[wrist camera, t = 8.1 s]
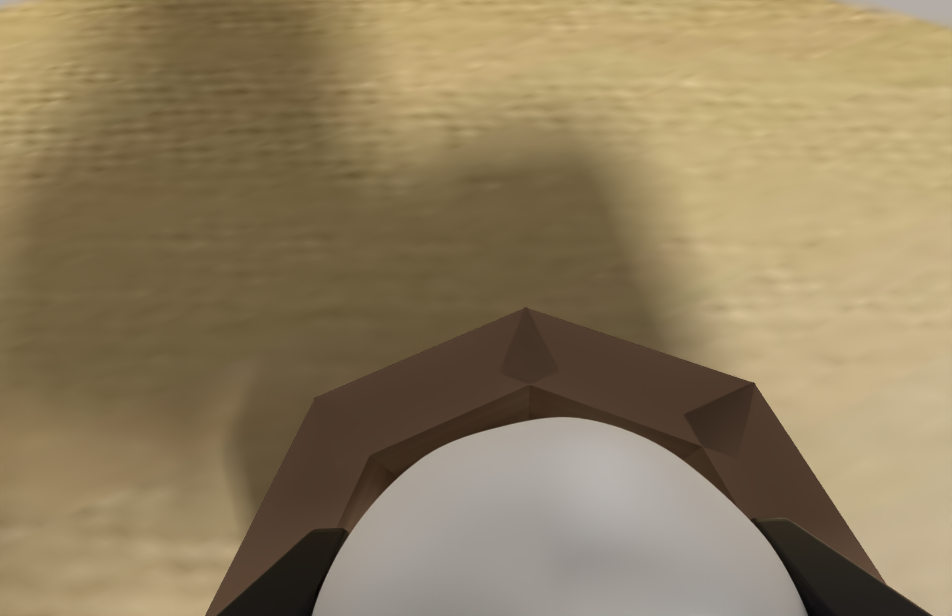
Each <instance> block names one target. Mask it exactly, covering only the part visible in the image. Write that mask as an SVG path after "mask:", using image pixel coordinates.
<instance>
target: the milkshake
mask: <svg viewBox="0 0 952 616" xmlns="http://www.w3.org/2000/svg"><path fill="white" fill-rule="evenodd" d="M312 616H808V614H807V611H806V609H805V607H804V604H803V602H802V600H801V598H800V595H799V593H798V591H797V589H796V587H795V585H794V583H793V581H792V579H791V577H790V576H789V574H788V572H787V570H786V568H785V567H784V565H783V563H782V561H781V560H780V558H779V557H778V555H777V554H776V552H775V551H774V549H773V548H772V546H771V545H770V543H769V542H768V541H767V539H766V538H765V537H764V536H763V534H762V533H761V532H760V531H759V530H758V528H757V527H756V526H755V525H754V524H753V523H752V522H751V521H750V520H749V519H748V518H747V517H746V516H745V515H744V514H743V513H742V512H741V511H740V510H739V509H738V508H737V507H736V506H735V505H734V504H733V503H732V502H731V501H730V500H729V499H728V498H727V497H726V496H725V495H724V494H723V493H721V492H720V491H719V490H718V489H717V488H716V487H715V486H714V485H713V484H711V483H710V482H709V481H708V480H707V479H706V478H704V477H703V476H702V475H701V474H700V473H698V472H697V471H696V470H695V469H693V468H692V467H691V466H690V465H688V464H687V463H686V462H684V461H683V460H682V459H680V458H679V457H677V456H676V455H675V454H673V453H671V452H670V451H668V450H667V449H665V448H663V447H661V446H660V445H658V444H656V443H654V442H652V441H650V440H648V439H646V438H644V437H642V436H640V435H637V434H635V433H632V432H630V431H627V430H624V429H622V428H619V427H616V426H612V425H609V424H605V423H601V422H597V421H593V420H588V419H581V418H571V417H554V418H543V419H536V420H530V421H524V422H519V423H515V424H510V425H506V426H502V427H498V428H494V429H490V430H486V431H483V432H479V433H476V434H472V435H469V436H466V437H463V438H461V439H458V440H455V441H453V442H450V443H448V444H446V445H444V446H442V447H440V448H438V449H436V450H434V451H433V452H431V453H429V454H428V455H426V456H425V457H423V458H422V459H420V460H419V461H418V462H416V463H415V464H414V465H412V466H411V467H410V468H409V469H408V470H406V471H405V472H404V473H403V474H402V475H401V476H400V477H398V478H397V479H396V480H395V481H394V482H393V483H392V484H391V485H390V486H389V487H388V488H387V489H386V490H385V491H384V492H383V493H382V494H381V495H380V496H379V497H378V499H377V500H376V501H375V502H374V503H373V504H372V505H371V507H370V508H369V509H368V510H367V512H366V513H365V514H364V515H363V517H362V518H361V519H360V521H359V522H358V523H357V525H356V526H355V527H354V529H353V530H352V532H351V533H350V535H349V536H348V538H347V539H346V541H345V543H344V544H343V546H342V547H341V549H340V551H339V553H338V554H337V556H336V558H335V560H334V562H333V564H332V566H331V568H330V570H329V572H328V574H327V576H326V578H325V581H324V583H323V585H322V588H321V590H320V593H319V595H318V598H317V601H316V604H315V607H314V610H313V613H312Z"/></svg>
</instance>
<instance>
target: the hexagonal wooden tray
mask: <svg viewBox="0 0 952 616" xmlns="http://www.w3.org/2000/svg"><path fill="white" fill-rule="evenodd" d="M554 417H571V418H581V419H588V420H593V421H597V422H601V423H605V424H609V425H612V426H616V427H619V428H622V429H624V430H627V431H630V432H632V433H635V434H637V435H640V436H642V437H644V438H646V439H648V440H650V441H652V442H654V443H656V444H658V445H660V446H661V447H663V448H665V449H667V450H668V451H670V452H671V453H673V454H675V455H676V456H677V457H679V458H680V459H682V460H683V461H684V462H686V463H687V464H688V465H690V466H691V467H692V468H693V469H695V470H696V471H697V472H698V473H700V474H701V475H702V476H703V477H704V478H706V479H707V480H708V481H709V482H710V483H711V484H713V485H714V486H715V487H716V488H717V489H718V490H719V491H720V492H721V493H723V494H724V495H725V496H726V497H727V498H728V499H729V500H730V501H731V502H732V503H733V504H734V505H735V506H736V507H737V508H738V509H739V510H740V511H741V512H742V513H743V514H744V515H745V516H746V517H747V518H748V519H749V520H750V519H752V518H773V517H781V518H786V519H789V520H791V521H792V522H794V523H796V524H797V525H798V526H800V527H801V528H803V529H804V530H806V531H807V532H809V533H810V534H812V535H813V536H815V537H816V538H818V539H819V540H821V541H822V542H824V543H825V544H827V545H828V546H830V547H831V548H833V549H834V550H836V551H837V552H839V553H840V554H842V555H843V556H845V557H846V558H848V559H849V560H851V561H852V562H854V563H855V564H857V565H858V566H860V567H861V568H862V569H864V570H865V571H867V572H868V573H870V574H871V575H873V576H874V577H876V578H877V579H879V580H880V581H882V582H883V583H885V581H884V580H883V578H882V577H881V575H880V574H879V572H878V571H877V569H876V568H875V566H874V565H873V563H872V562H871V560H870V558H869V557H868V555H867V554H866V552H865V551H864V549H863V548H862V546H861V545H860V543H859V542H858V540H857V539H856V537H855V536H854V534H853V533H852V531H851V530H850V528H849V527H848V525H847V523H846V522H845V520H844V519H843V517H842V516H841V514H840V513H839V511H838V510H837V508H836V507H835V505H834V504H833V502H832V501H831V499H830V498H829V496H828V495H827V493H826V492H825V490H824V489H823V487H822V485H821V484H820V482H819V481H818V479H817V478H816V476H815V475H814V473H813V472H812V470H811V469H810V467H809V466H808V464H807V463H806V461H805V460H804V458H803V457H802V455H801V454H800V452H799V450H798V449H797V447H796V446H795V444H794V443H793V441H792V440H791V438H790V437H789V435H788V434H787V432H786V431H785V429H784V428H783V426H782V425H781V423H780V422H779V420H778V419H777V417H776V415H775V414H774V412H773V411H772V409H771V408H770V406H769V405H768V403H767V402H766V400H765V399H764V397H763V396H762V394H761V393H760V391H759V390H758V388H757V387H756V385H755V383H754V382H753V383H752V382H749V381H746V380H743V379H740V378H737V377H734V376H731V375H728V374H725V373H722V372H719V371H716V370H713V369H710V368H707V367H704V366H701V365H698V364H695V363H692V362H689V361H686V360H683V359H679V358H676V357H673V356H670V355H667V354H664V353H661V352H658V351H655V350H652V349H649V348H646V347H643V346H640V345H637V344H634V343H631V342H628V341H625V340H622V339H619V338H616V337H613V336H610V335H607V334H604V333H601V332H598V331H595V330H591V329H588V328H585V327H582V326H579V325H576V324H573V323H570V322H567V321H564V320H561V319H558V318H555V317H552V316H549V315H546V314H543V313H540V312H537V311H534V310H531V309H528V308H527V307H526V308H524V309H522V310H519V311H517V312H515V313H512V314H510V315H508V316H505V317H503V318H501V319H498V320H496V321H494V322H491V323H489V324H487V325H484V326H482V327H480V328H477V329H475V330H473V331H470V332H468V333H466V334H463V335H461V336H459V337H456V338H454V339H452V340H449V341H447V342H445V343H442V344H440V345H438V346H435V347H433V348H431V349H428V350H426V351H424V352H421V353H419V354H417V355H414V356H412V357H410V358H407V359H405V360H403V361H400V362H398V363H396V364H393V365H391V366H389V367H386V368H384V369H382V370H379V371H377V372H374V373H372V374H370V375H367V376H365V377H363V378H360V379H358V380H356V381H353V382H351V383H349V384H346V385H344V386H342V387H339V388H337V389H335V390H332V391H330V392H328V393H325V394H323V395H321V396H318V397H316V398H315V400H314V402H313V404H312V406H311V408H310V410H309V412H308V414H307V416H306V418H305V419H304V421H303V423H302V425H301V427H300V429H299V431H298V433H297V435H296V437H295V439H294V441H293V443H292V445H291V447H290V449H289V451H288V453H287V455H286V457H285V459H284V461H283V463H282V465H281V467H280V469H279V471H278V473H277V475H276V477H275V479H274V481H273V483H272V485H271V487H270V489H269V491H268V492H267V494H266V496H265V498H264V500H263V502H262V504H261V506H260V508H259V510H258V512H257V514H256V516H255V518H254V520H253V522H252V524H251V526H250V528H249V530H248V532H247V534H246V536H245V538H244V540H243V542H242V544H241V546H240V548H239V550H238V552H237V554H236V556H235V558H234V560H233V562H232V564H231V565H230V567H229V569H228V571H227V573H226V575H225V577H224V579H223V581H222V583H221V585H220V587H219V589H218V591H217V593H216V595H215V597H214V599H213V601H212V603H211V605H210V607H209V609H208V611H207V613H206V615H205V616H216V615H217V614H218V613H219V612H220V611H221V610H222V609H223V608H225V607H226V606H227V605H228V604H229V603H230V602H231V601H232V600H234V599H235V598H236V597H237V596H238V595H239V594H240V593H241V592H242V591H244V590H245V589H246V588H247V587H248V586H249V585H250V584H251V583H253V582H254V581H255V580H256V579H257V578H258V577H259V576H260V575H261V574H263V573H264V572H265V571H266V570H267V569H268V568H269V567H270V566H272V565H273V564H274V563H275V562H276V561H277V560H278V559H279V558H280V557H282V556H283V555H284V554H285V553H286V552H287V551H288V550H289V549H291V548H292V547H293V546H294V545H295V544H296V543H297V542H298V541H299V540H301V539H302V538H303V537H304V536H305V535H306V534H307V533H309V532H310V531H312V530H314V529H323V528H344V529H345V530H347V531H348V533H349V535H350V533H351V532H352V530H353V529H354V527H355V526H356V525H357V523H358V522H359V521H360V519H361V518H362V517H363V515H364V514H365V513H366V512H367V510H368V509H369V508H370V507H371V505H372V504H373V503H374V502H375V501H376V500H377V499H378V497H379V496H380V495H381V494H382V493H383V492H384V491H385V490H386V489H387V488H388V487H389V486H390V485H391V484H392V483H393V482H394V481H395V480H396V479H397V478H398V477H400V476H401V475H402V474H403V473H404V472H405V471H406V470H408V469H409V468H410V467H411V466H412V465H414V464H415V463H416V462H418V461H419V460H420V459H422V458H423V457H425V456H426V455H428V454H429V453H431V452H433V451H434V450H436V449H438V448H440V447H442V446H444V445H446V444H448V443H450V442H453V441H455V440H458V439H461V438H463V437H466V436H469V435H472V434H476V433H479V432H483V431H486V430H490V429H494V428H498V427H502V426H506V425H510V424H515V423H519V422H524V421H530V420H536V419H543V418H554ZM885 584H886V583H885ZM886 585H887V584H886Z"/></svg>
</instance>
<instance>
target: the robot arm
mask: <svg viewBox="0 0 952 616" xmlns="http://www.w3.org/2000/svg"><path fill="white" fill-rule="evenodd" d="M750 521H751V522H752V523H753V524H754V525H755V526H756V527H757V528H758V530H759V531H760V532H761V533H762V534H763V536H764V537H765V538H766V539H767V541H768V542H769V543H770V545H771V546H772V548H773V549H774V551H775V552H776V554H777V555H778V557H779V558H780V560H781V561H782V563H783V565H784V567H785V568H786V570H787V572H788V574H789V576H790V577H791V579H792V581H793V583H794V585H795V587H796V589H797V591H798V593H799V595H800V598H801V600H802V602H803V604H804V607H805V609H806V611H807V614H808V616H932V615H931V614H929V613H928V612H926V611H925V610H923V609H922V608H921V607H919V606H918V605H916V604H915V603H913V602H912V601H910V600H909V599H907V598H906V597H904V596H903V595H901V594H900V593H898V592H897V591H895V590H894V589H892V588H891V587H889V586H888V585H886V584H885V583H883V582H882V581H880V580H879V579H877V578H876V577H874V576H873V575H871V574H870V573H868V572H867V571H865V570H864V569H862V568H861V567H860V566H858V565H857V564H855V563H854V562H852V561H851V560H849V559H848V558H846V557H845V556H843V555H842V554H840V553H839V552H837V551H836V550H834V549H833V548H831V547H830V546H828V545H827V544H825V543H824V542H822V541H821V540H819V539H818V538H816V537H815V536H813V535H812V534H810V533H809V532H807V531H806V530H804V529H803V528H801V527H800V526H798V525H797V524H796V523H794V522H792V521H791V520H789V519H786V518H781V517H773V518H752V519H750ZM348 536H349V533H348V531H347V530H345V529H344V528H323V529H314V530H312V531H310V532H309V533H307V534H306V535H305V536H304V537H303V538H302V539H301V540H299V541H298V542H297V543H296V544H295V545H294V546H293V547H292V548H291V549H289V550H288V551H287V552H286V553H285V554H284V555H283V556H282V557H280V558H279V559H278V560H277V561H276V562H275V563H274V564H273V565H272V566H270V567H269V568H268V569H267V570H266V571H265V572H264V573H263V574H261V575H260V576H259V577H258V578H257V579H256V580H255V581H254V582H253V583H251V584H250V585H249V586H248V587H247V588H246V589H245V590H244V591H242V592H241V593H240V594H239V595H238V596H237V597H236V598H235V599H234V600H232V601H231V602H230V603H229V604H228V605H227V606H226V607H225V608H223V609H222V610H221V611H220V612H219V613H218V614H217V615H216V616H312V613H313V610H314V607H315V604H316V601H317V598H318V595H319V593H320V590H321V588H322V585H323V583H324V581H325V578H326V576H327V574H328V572H329V570H330V568H331V566H332V564H333V562H334V560H335V558H336V556H337V554H338V553H339V551H340V549H341V547H342V546H343V544H344V543H345V541H346V539H347V538H348Z"/></svg>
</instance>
